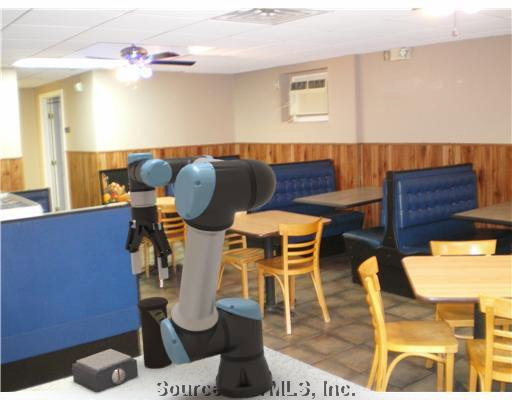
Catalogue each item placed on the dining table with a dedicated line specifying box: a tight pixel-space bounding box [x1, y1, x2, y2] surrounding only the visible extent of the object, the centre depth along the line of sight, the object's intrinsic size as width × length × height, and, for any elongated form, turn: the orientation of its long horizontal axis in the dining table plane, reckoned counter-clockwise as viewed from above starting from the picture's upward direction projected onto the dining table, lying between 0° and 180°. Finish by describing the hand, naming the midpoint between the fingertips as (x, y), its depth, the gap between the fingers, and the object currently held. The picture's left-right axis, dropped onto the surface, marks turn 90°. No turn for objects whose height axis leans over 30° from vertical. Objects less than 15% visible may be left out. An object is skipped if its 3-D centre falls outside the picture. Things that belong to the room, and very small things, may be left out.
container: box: [137, 296, 173, 369], centre depth 167 cm, size 9×9×20 cm
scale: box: [71, 348, 139, 393], centre depth 158 cm, size 14×13×6 cm
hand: (150, 276), depth 166 cm, fingers open, 13 cm apart
